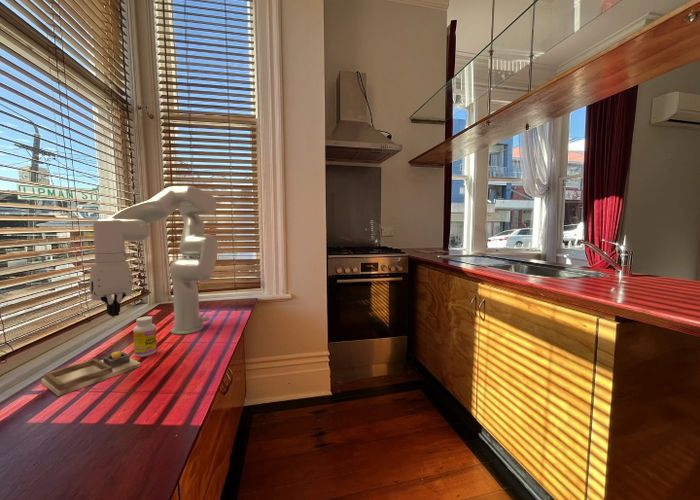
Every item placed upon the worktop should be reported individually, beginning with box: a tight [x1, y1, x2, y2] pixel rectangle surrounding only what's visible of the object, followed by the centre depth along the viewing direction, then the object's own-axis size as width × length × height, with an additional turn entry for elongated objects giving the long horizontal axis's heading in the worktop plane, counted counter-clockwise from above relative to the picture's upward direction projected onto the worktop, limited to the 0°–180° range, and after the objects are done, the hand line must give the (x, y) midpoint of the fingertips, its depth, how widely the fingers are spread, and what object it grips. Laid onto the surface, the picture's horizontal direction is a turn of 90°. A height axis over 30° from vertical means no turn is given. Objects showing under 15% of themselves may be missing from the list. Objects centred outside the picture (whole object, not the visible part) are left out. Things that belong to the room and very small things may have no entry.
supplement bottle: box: [132, 316, 158, 358], centre depth 107 cm, size 7×7×13 cm
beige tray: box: [41, 351, 142, 397], centre depth 92 cm, size 20×13×3 cm, turn 150°
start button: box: [111, 350, 122, 360], centre depth 97 cm, size 2×2×3 cm
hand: (113, 315), depth 96 cm, fingers closed
